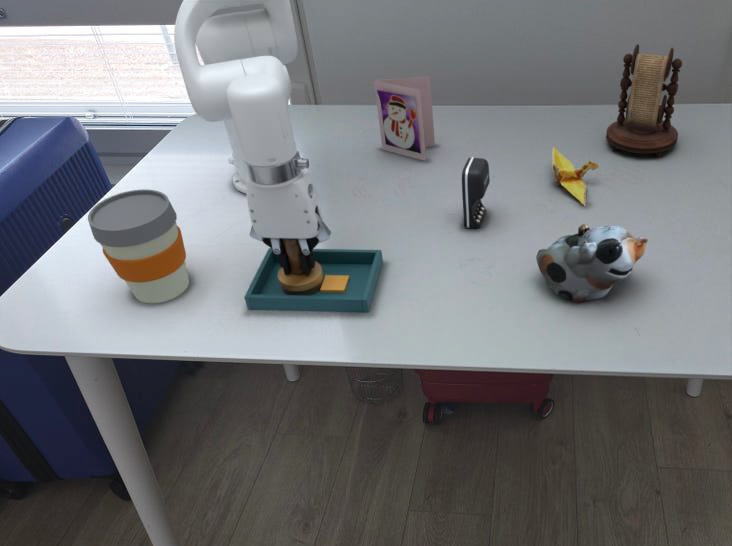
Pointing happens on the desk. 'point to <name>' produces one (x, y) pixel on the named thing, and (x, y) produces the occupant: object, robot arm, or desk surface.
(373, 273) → the tray
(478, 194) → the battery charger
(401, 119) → the greeting card
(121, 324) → the desk surface
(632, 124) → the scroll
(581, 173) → the origami crane
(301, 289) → the stamp
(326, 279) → the orange flat square block
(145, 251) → the reusable coffee cup
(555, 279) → the lucky cat figurine
